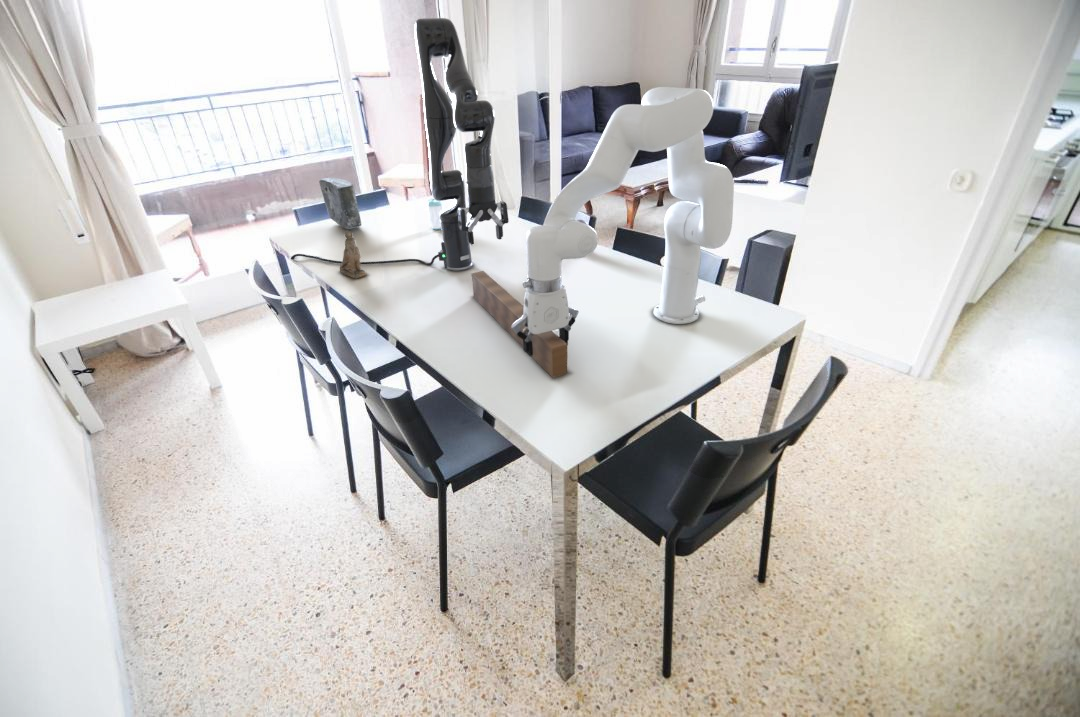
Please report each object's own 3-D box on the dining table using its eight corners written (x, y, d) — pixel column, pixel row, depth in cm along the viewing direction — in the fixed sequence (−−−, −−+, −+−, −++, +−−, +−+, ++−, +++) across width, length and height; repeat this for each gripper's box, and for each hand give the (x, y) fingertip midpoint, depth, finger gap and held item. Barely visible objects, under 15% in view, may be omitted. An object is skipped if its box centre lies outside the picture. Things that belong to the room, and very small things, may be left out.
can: (445, 229, 220) (441, 202, 214) (429, 230, 220) (425, 202, 214) (447, 224, 226) (444, 198, 220) (432, 225, 226) (428, 198, 220)
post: (473, 297, 158) (470, 273, 153) (485, 294, 159) (483, 270, 155) (552, 378, 117) (552, 348, 113) (567, 373, 118) (567, 344, 114)
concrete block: (366, 231, 222) (356, 185, 212) (347, 235, 218) (335, 188, 207) (347, 218, 241) (337, 175, 230) (329, 222, 236) (318, 178, 226)
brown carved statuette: (368, 281, 178) (362, 235, 166) (353, 285, 175) (347, 238, 163) (352, 266, 184) (346, 221, 172) (338, 270, 181) (331, 224, 169)
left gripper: (460, 189, 130) (466, 249, 138) (509, 182, 135) (513, 240, 143) (450, 184, 135) (458, 242, 144) (498, 177, 141) (503, 233, 149)
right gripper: (516, 296, 105) (520, 365, 114) (586, 280, 112) (585, 346, 121) (502, 284, 111) (507, 350, 120) (569, 270, 118) (569, 333, 127)
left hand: (485, 241), depth 144 cm, fingers open, 8 cm apart
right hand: (546, 348), depth 120 cm, fingers open, 9 cm apart
